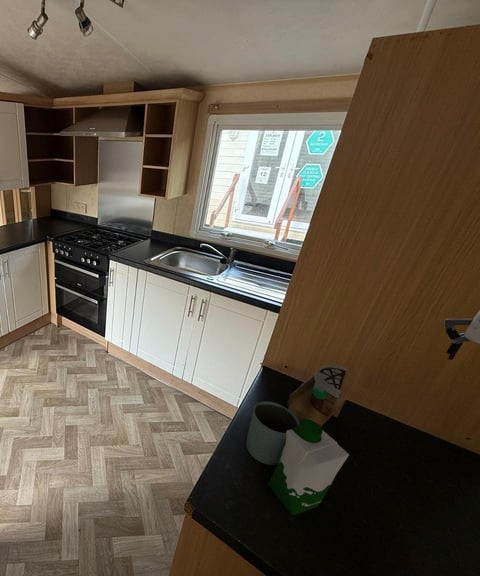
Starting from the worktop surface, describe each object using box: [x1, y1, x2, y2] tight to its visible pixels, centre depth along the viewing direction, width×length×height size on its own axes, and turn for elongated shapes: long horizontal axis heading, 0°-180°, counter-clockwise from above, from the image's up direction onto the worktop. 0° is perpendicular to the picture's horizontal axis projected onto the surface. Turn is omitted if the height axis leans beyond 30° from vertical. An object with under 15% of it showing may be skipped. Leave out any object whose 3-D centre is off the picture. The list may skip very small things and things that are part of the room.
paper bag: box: [286, 373, 347, 428], centre depth 88 cm, size 9×16×10 cm, turn 125°
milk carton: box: [267, 419, 350, 517], centre depth 66 cm, size 9×9×20 cm
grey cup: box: [245, 401, 299, 466], centre depth 79 cm, size 10×10×12 cm
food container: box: [310, 364, 349, 417], centre depth 85 cm, size 12×6×10 cm, turn 136°
